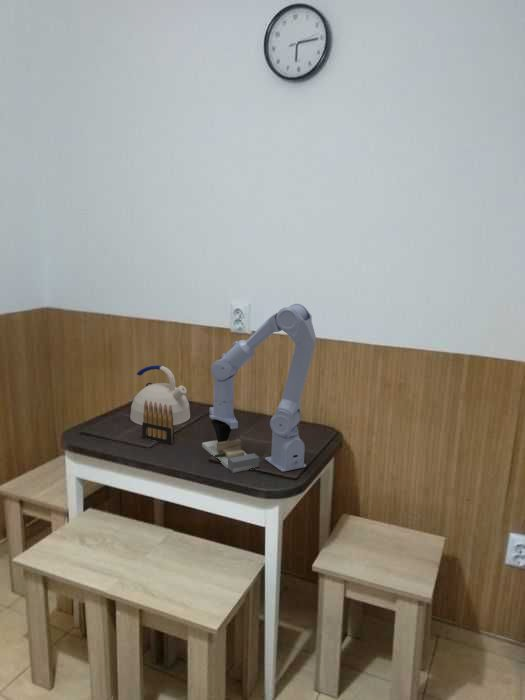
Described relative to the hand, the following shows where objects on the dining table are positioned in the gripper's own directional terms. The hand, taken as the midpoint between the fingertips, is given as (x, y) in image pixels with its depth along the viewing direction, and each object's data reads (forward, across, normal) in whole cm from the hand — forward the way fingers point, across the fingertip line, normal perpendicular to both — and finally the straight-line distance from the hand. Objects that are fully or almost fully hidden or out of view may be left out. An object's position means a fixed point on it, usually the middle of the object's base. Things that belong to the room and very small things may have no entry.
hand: (222, 444), depth 156 cm
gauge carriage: (+1, +6, -1) cm, 6 cm away
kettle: (+2, -36, -6) cm, 36 cm away
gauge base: (+2, +4, 0) cm, 5 cm away
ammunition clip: (+2, -16, -14) cm, 21 cm away
